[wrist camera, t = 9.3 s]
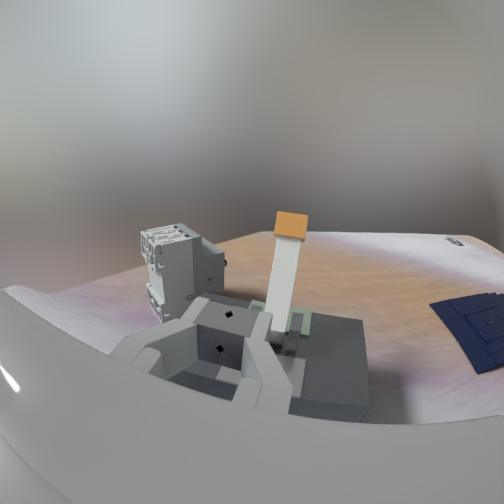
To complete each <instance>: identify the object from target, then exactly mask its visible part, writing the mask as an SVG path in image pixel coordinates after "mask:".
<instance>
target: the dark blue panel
mask: <svg viewBox="0 0 504 504" xmlns="http://www.w3.org/2000/svg"><path fill="white" fill-rule="evenodd" d="M429 305H430V306H431V307H432V308H433V310H434V311H435V312H436V313H437V314H438V316H439V317H440V318H441V319H442V321H443V322H444V323H445V324H446V326H447V327H448V328H449V329H450V331H451V332H452V333H453V335H454V336H455V338H456V339H457V341H458V342H459V344H460V345H461V347H462V349H463V350H464V352H465V353H466V355H467V357H468V358H469V360H470V362H471V363H472V365H473V367H474V369H475V370H476V372H477V374H479V373H481V372H484V371H487V370H490V369H492V368H495V367H497V366H499V365H500V364H502V363H504V294H499V295H497V294H496V293H490V294H488V293H485V294H477V295H471V296H466V297H460V298H455V299H449V300H445V301H440V302H437V303H432V304H429Z"/></svg>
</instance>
